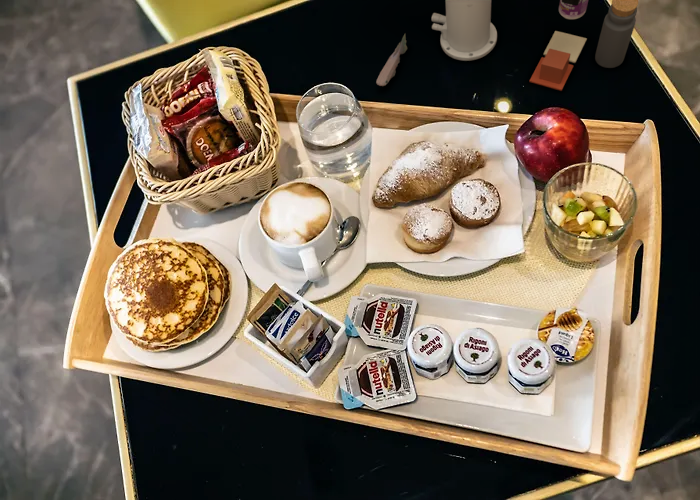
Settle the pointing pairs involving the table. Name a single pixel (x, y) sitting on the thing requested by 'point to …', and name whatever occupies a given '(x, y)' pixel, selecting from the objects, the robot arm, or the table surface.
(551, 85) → the clay pad
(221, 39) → the table surface
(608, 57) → the bottle
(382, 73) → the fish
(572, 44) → the cream pad
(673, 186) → the table surface
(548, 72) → the terracotta block
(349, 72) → the table surface
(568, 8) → the pill bottle
